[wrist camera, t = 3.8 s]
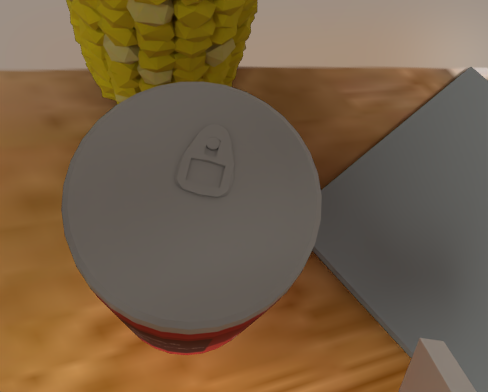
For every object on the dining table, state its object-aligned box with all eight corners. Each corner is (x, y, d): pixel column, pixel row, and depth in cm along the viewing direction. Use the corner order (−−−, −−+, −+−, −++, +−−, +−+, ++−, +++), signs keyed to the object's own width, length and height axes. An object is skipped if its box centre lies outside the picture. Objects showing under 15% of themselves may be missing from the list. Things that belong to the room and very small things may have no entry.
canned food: (256, 202, 25) (307, 80, 15) (270, 351, 22) (345, 323, 12) (117, 205, 24) (70, 74, 14) (111, 362, 21) (43, 342, 11)
